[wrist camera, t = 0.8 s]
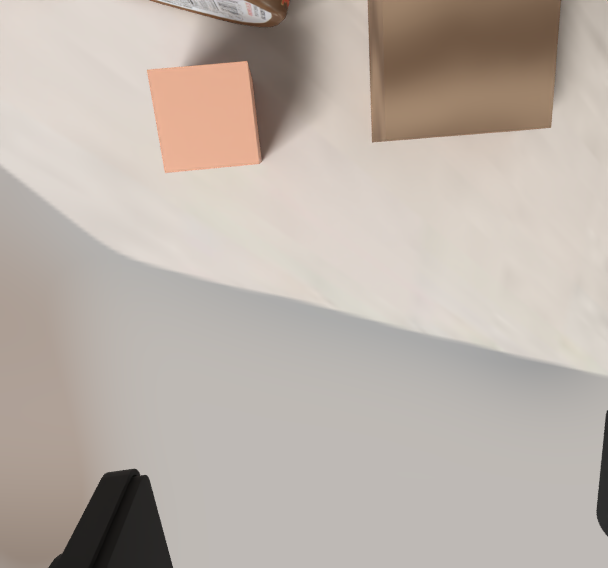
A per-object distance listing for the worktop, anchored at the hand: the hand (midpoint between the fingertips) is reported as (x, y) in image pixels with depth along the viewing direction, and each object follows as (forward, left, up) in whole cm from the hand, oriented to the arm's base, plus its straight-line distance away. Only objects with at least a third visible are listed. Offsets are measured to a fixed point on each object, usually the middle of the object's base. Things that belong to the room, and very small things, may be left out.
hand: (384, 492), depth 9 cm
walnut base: (-12, +10, -24) cm, 28 cm away
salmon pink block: (-9, -5, -23) cm, 25 cm away
